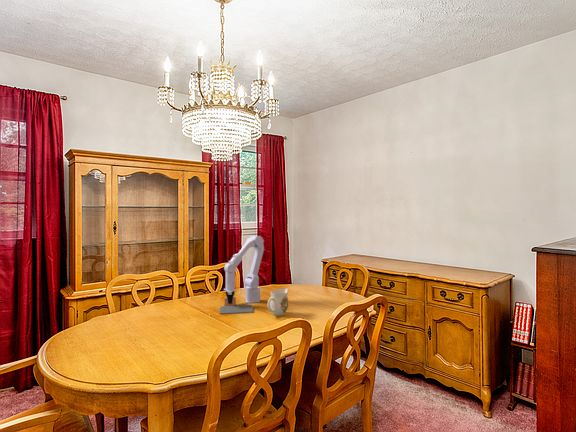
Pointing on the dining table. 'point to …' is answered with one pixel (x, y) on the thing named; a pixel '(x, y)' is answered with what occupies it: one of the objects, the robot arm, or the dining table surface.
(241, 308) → the mat
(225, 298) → the tile
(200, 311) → the dining table surface
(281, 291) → the pitcher
